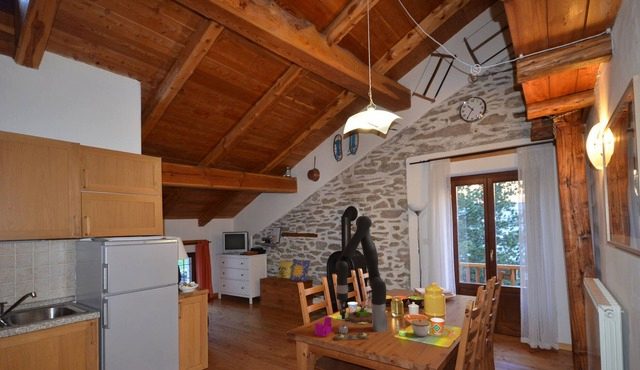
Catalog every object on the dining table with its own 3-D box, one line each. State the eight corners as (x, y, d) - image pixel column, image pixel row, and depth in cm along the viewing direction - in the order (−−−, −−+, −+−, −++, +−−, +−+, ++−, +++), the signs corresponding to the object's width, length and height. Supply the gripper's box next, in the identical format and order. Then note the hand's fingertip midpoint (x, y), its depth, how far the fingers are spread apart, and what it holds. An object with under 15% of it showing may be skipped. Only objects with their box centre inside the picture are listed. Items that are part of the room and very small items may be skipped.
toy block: (324, 337, 220) (323, 325, 220) (315, 336, 223) (314, 323, 223) (334, 329, 233) (334, 318, 233) (326, 328, 236) (326, 316, 236)
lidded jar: (413, 330, 227) (413, 315, 227) (431, 332, 222) (430, 317, 222) (410, 336, 217) (409, 320, 217) (428, 338, 212) (427, 323, 213)
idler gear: (347, 330, 229) (347, 324, 230) (348, 333, 224) (348, 327, 224) (338, 331, 229) (338, 324, 229) (339, 334, 224) (339, 327, 224)
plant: (343, 316, 260) (343, 300, 261) (368, 313, 266) (367, 298, 267) (354, 325, 241) (353, 308, 242) (380, 321, 247) (379, 305, 248)
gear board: (366, 335, 220) (366, 330, 220) (368, 339, 214) (368, 334, 214) (333, 337, 218) (333, 332, 219) (334, 341, 212) (334, 336, 212)
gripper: (349, 294, 221) (350, 320, 220) (346, 288, 235) (346, 313, 234) (337, 294, 220) (338, 321, 220) (335, 289, 235) (335, 313, 234)
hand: (342, 317), depth 227 cm, fingers open, 8 cm apart
